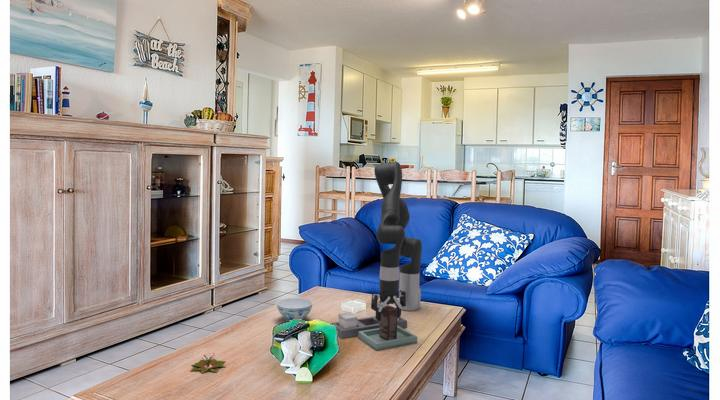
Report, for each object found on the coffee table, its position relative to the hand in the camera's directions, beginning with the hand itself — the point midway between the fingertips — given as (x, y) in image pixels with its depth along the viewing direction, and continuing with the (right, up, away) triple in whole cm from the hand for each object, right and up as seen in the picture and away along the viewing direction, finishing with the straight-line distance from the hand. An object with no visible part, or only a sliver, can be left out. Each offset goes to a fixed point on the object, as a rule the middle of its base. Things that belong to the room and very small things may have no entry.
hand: (388, 319), depth 184 cm
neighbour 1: (-16, -7, +8) cm, 19 cm away
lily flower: (-60, -10, -27) cm, 67 cm away
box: (0, -8, +1) cm, 8 cm away
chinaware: (-39, -6, +21) cm, 44 cm away
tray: (0, -8, +1) cm, 8 cm away
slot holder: (-7, -7, +13) cm, 16 cm away
